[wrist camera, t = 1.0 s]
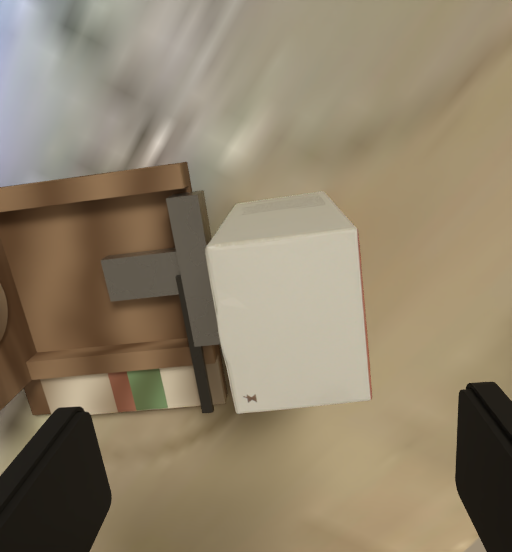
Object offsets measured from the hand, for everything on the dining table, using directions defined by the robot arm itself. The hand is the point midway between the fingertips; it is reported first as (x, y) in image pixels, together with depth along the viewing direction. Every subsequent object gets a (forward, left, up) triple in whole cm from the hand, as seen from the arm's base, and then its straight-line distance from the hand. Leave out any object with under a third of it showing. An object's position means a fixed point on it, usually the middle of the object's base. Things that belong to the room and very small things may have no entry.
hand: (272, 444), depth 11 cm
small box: (-1, 0, -21) cm, 21 cm away
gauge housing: (+13, +2, -20) cm, 25 cm away
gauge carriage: (+8, +3, -19) cm, 21 cm away
